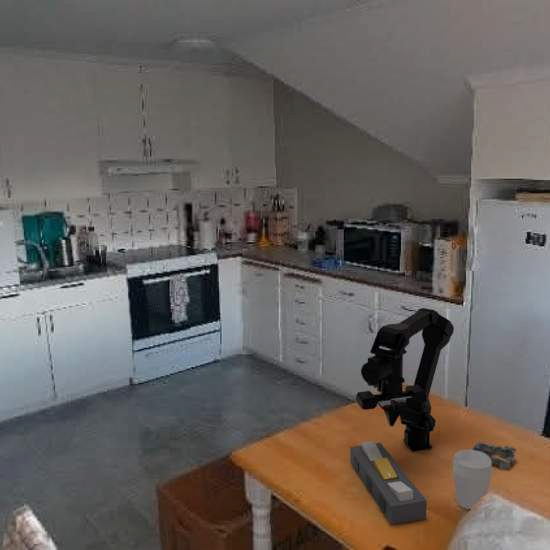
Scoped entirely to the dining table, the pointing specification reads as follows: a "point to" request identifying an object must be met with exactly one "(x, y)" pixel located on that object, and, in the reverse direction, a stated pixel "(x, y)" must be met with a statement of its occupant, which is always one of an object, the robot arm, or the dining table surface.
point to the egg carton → (498, 450)
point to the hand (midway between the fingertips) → (391, 425)
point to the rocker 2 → (384, 469)
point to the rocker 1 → (371, 451)
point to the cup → (471, 476)
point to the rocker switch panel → (381, 492)
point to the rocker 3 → (400, 491)
